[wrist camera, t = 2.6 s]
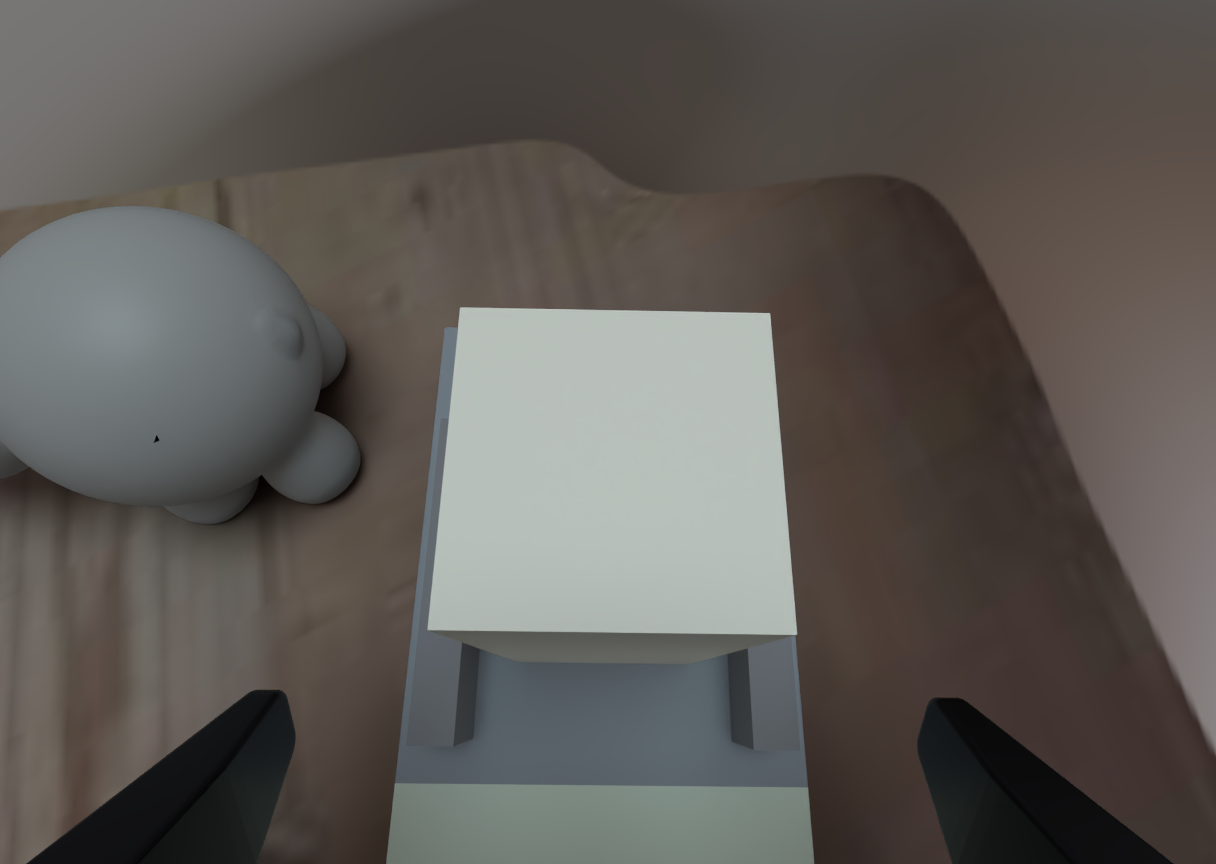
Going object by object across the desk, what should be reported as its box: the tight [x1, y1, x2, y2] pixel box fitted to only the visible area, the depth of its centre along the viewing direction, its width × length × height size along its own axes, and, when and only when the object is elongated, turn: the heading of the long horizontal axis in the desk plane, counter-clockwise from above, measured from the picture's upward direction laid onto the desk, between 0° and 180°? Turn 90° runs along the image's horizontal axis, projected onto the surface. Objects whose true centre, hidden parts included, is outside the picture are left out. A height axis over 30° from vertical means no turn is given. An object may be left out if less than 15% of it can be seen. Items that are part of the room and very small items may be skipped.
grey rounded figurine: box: [0, 206, 361, 524], centre depth 18 cm, size 8×12×9 cm, turn 100°
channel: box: [386, 327, 814, 864], centre depth 17 cm, size 22×10×5 cm, turn 179°
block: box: [427, 308, 797, 664], centre depth 14 cm, size 4×4×10 cm
